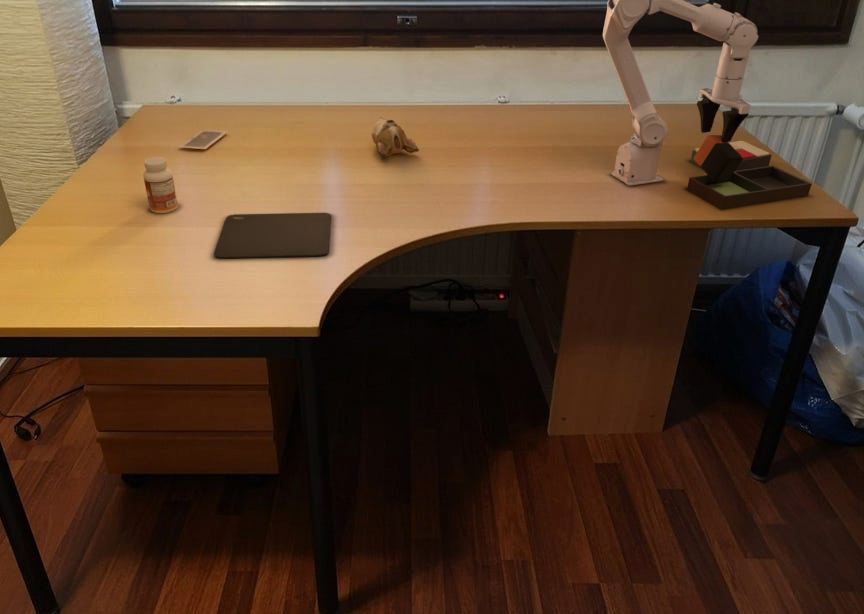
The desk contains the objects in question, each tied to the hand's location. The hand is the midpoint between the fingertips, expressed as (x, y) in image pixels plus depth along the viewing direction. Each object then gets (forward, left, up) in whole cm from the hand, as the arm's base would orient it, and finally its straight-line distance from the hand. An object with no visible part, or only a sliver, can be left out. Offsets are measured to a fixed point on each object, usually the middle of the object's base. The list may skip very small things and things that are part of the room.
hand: (715, 136), depth 173 cm
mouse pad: (-104, +3, -11) cm, 105 cm away
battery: (-2, -9, -5) cm, 10 cm away
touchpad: (-111, +67, -11) cm, 130 cm away
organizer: (+4, -10, -11) cm, 15 cm away
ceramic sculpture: (-65, +43, -11) cm, 79 cm away
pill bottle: (-125, +25, -11) cm, 128 cm away
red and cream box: (+12, +6, -11) cm, 17 cm away
